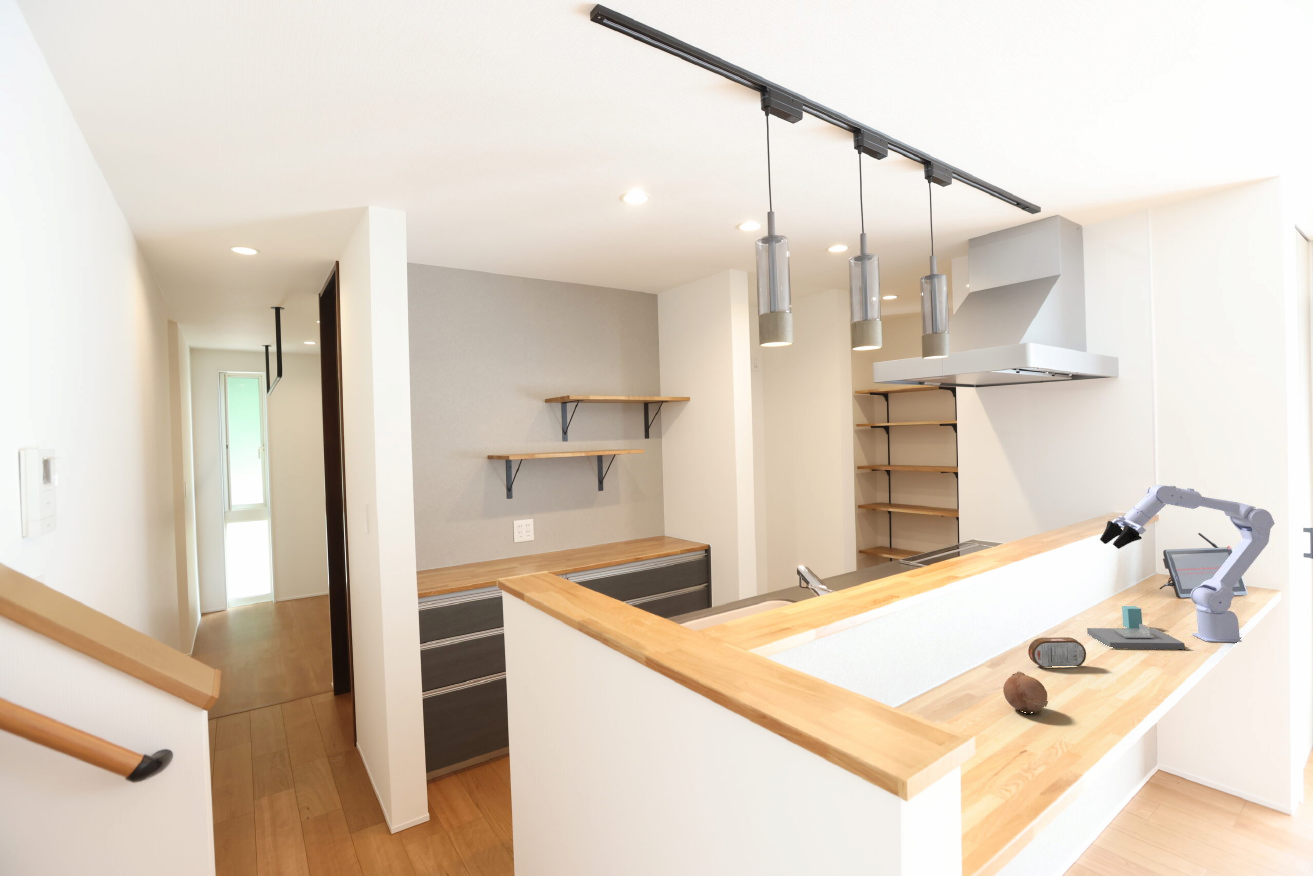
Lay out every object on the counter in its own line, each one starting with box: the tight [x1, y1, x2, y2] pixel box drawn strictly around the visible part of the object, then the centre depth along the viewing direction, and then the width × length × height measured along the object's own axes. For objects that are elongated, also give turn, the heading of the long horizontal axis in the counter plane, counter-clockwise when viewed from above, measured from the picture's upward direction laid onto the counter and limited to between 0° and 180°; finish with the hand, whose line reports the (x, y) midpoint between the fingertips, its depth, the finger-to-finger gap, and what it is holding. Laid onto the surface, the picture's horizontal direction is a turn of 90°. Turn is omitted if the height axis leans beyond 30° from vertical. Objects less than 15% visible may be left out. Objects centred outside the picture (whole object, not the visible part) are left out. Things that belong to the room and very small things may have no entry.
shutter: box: [1113, 623, 1154, 639], centre depth 202 cm, size 8×8×2 cm
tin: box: [1027, 636, 1087, 668], centre depth 183 cm, size 15×3×8 cm, turn 84°
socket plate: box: [1086, 627, 1186, 650], centre depth 202 cm, size 20×16×2 cm
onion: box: [1003, 671, 1049, 714], centre depth 155 cm, size 10×9×10 cm
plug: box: [1121, 605, 1143, 628], centre depth 216 cm, size 4×4×7 cm
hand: (1108, 544), depth 207 cm, fingers open, 7 cm apart
